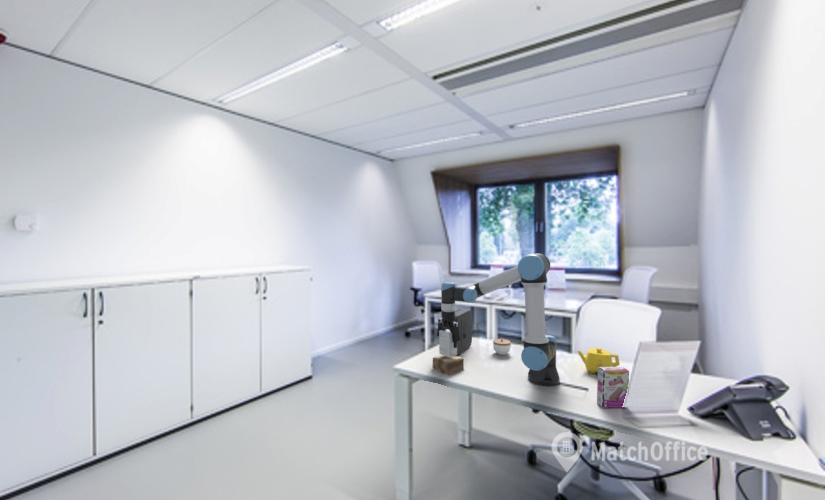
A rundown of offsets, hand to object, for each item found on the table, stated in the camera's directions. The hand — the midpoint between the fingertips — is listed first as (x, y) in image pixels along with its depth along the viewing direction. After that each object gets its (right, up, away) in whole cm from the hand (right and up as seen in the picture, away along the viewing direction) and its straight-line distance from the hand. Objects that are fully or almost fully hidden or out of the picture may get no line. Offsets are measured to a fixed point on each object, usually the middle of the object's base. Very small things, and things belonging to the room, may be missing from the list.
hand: (448, 351), depth 193 cm
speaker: (+11, -9, +32) cm, 35 cm away
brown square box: (0, -10, 0) cm, 10 cm away
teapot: (+80, -10, -6) cm, 81 cm away
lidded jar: (+36, -9, +26) cm, 45 cm away
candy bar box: (+66, -11, -43) cm, 80 cm away
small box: (0, -2, 0) cm, 2 cm away
